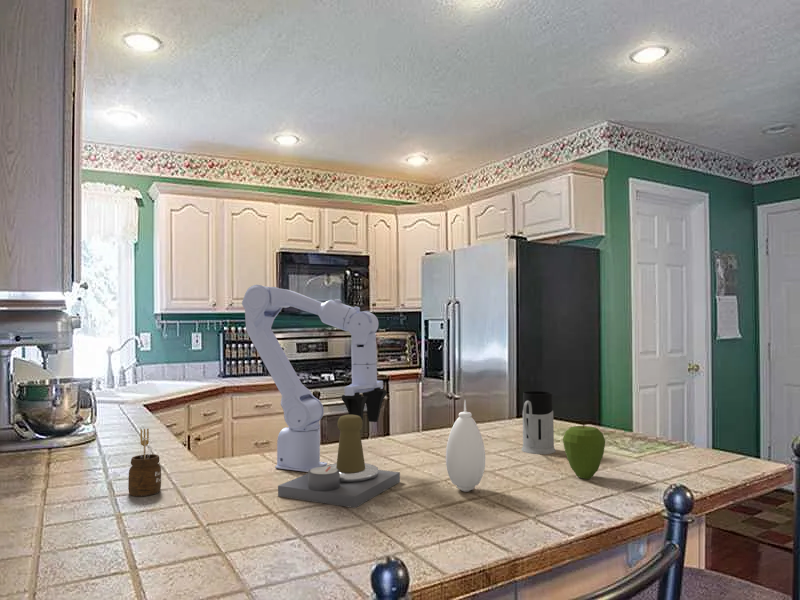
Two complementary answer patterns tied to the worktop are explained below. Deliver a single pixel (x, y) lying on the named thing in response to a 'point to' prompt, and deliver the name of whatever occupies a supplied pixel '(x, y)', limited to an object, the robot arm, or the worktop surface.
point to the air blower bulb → (465, 453)
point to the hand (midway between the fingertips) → (365, 424)
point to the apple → (584, 450)
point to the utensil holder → (144, 472)
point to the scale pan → (358, 474)
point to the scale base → (336, 487)
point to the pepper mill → (350, 444)
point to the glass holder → (538, 423)
